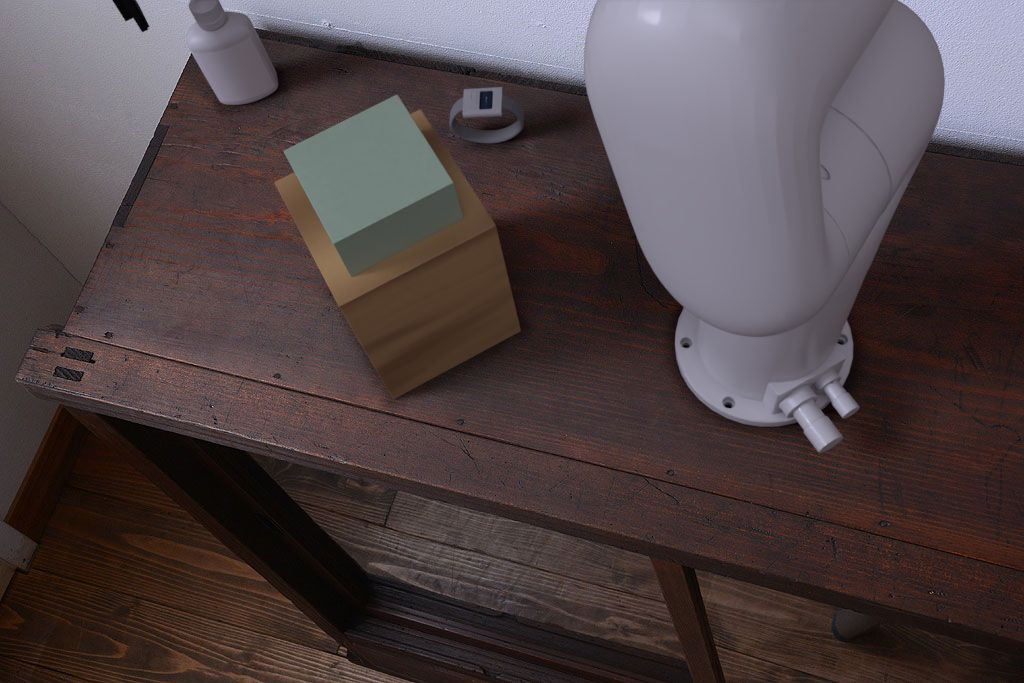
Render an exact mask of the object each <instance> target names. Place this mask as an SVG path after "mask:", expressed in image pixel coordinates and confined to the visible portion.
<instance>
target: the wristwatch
mask: <svg viewBox="0 0 1024 683" xmlns="http://www.w3.org/2000/svg"><path fill="white" fill-rule="evenodd" d="M504 110H506V111H507V112H509V113H511V115H513V116H514V117H515V118H516V119H517V120H516V121H515V122H514V123H512V124H511V125H508V126H506V127H503V128H500V129H491V130H490V129H489V130H486V129H477V128H472V127H469V126H465V125H463V124H462V123H460V122H459V120H457V119H456V118H457V117H458V116H459V115H460V113H462V119H481V118H497V117H503V111H504ZM448 122H449V123H448V126H449V129H450V131H451V132H452V134H453V135H454V136H455V137H458V138H459V139H462V140H464V141H469V142H472V143H476V144H499V143H503V142H507V141H509V140H511V139H513V138H515V137H517V136H518V135H519V134H520V133H521V132H522V131H523V128H524V126H525V111H524V109H523V107H522V106H521V105H520V104H519V103H518V102H517V101H516V100H515V99H513V98H512V97H510V96H508V95H505V94H504V88H503V86H494V87H493V86H492V87H478V88H476V87H475V88H463V95H462V97H460V98H459V99H457V100H456V101H455V102H454V103H453V105H452V107H451V109H450V112H449V121H448Z"/></svg>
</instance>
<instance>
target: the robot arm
mask: <svg viewBox="0 0 1024 683" xmlns="http://www.w3.org/2000/svg"><path fill="white" fill-rule="evenodd" d="M112 3H113V4H114V5H115V8H117V10H118V12H119V13H120V15H121V17H122V18H123V20H124V21H125V22H128V21H130V20H132V19H133V20H134V22H135V23H136V25H137V27H138V29H139V30H140V31H141V32H142V33H145V32H147V31H148V30H149V28H150V25H149V23H148V21H147V19H146V17H145V14H144V12H143V10H142V8H141V6H140V4H139V3H138V1H137V0H112ZM583 75H584V83H585V84H584V85H585V88H586V94H587V98H588V101H589V105H590V108H591V111H592V115H593V118H594V121H595V124H596V127H597V130H598V132H599V136H600V138H601V141H602V145H603V147H604V149H605V153H606V156H607V158H608V161H609V164H610V166H611V169H612V172H613V175H614V178H615V181H616V183H617V187H618V189H619V192H620V195H621V197H622V201H623V203H624V206H625V209H626V213H627V214H628V218H629V221H630V223H631V225H632V228H633V231H634V234H635V236H636V240H637V242H638V244H639V246H640V249H641V251H642V253H643V255H644V258H645V259H646V261H647V262H648V265H649V266H650V268H651V270H652V271H653V273H654V275H655V277H657V279H658V280H659V282H660V283H661V285H662V286H663V287H664V288H665V290H666V291H667V292H668V293H669V294H670V295H671V297H673V298H674V300H675V301H676V302H678V303H679V304H680V305H681V306H682V311H681V312H680V314H679V317H678V320H677V324H676V329H675V336H674V351H675V352H674V353H675V360H676V363H677V366H678V369H679V372H680V375H681V377H682V379H683V380H684V382H685V383H686V386H687V387H688V389H689V390H690V391H691V392H692V393H693V394H694V396H695V397H696V398H697V399H698V400H699V401H700V402H701V403H703V405H705V406H706V407H707V408H709V409H710V410H711V411H713V412H714V413H715V414H716V413H717V414H718V415H720V416H722V417H723V418H726V419H728V420H731V421H733V422H736V423H739V424H742V425H748V426H753V427H759V428H760V427H762V428H764V427H766V428H768V427H769V428H770V427H771V428H772V427H773V428H774V427H783V426H788V425H793V424H796V423H797V424H799V426H800V428H801V429H802V430H803V434H804V435H805V436H806V438H807V439H808V441H809V442H810V444H811V445H812V446H813V448H814V449H815V450H816V452H818V454H823V453H825V452H827V451H829V450H831V449H833V448H834V447H836V446H837V445H838V444H839V443H840V442H841V441H842V440H843V439H844V436H843V435H842V433H841V432H840V430H839V429H838V428H837V427H836V425H835V424H834V423H833V421H832V420H831V419H830V417H829V416H828V415H825V413H824V412H823V410H824V409H825V408H826V407H827V406H828V405H830V404H831V406H832V407H833V408H834V409H835V411H836V412H837V413H838V415H839V416H840V417H841V419H842V420H845V419H847V418H850V417H851V416H853V415H854V414H856V413H857V412H858V411H859V410H860V408H861V406H860V405H859V404H858V402H857V401H856V400H855V399H854V397H853V395H851V393H850V392H849V391H848V392H847V390H846V389H845V388H844V385H845V383H846V380H847V378H848V376H849V374H850V371H851V367H852V364H853V360H854V340H853V334H852V329H851V326H850V324H849V321H848V318H849V315H850V314H851V310H852V308H853V307H854V304H855V302H856V299H857V297H858V295H859V292H860V290H861V288H862V285H863V283H864V280H865V278H866V276H867V273H868V271H869V269H870V268H871V266H872V263H873V261H874V259H875V257H876V255H877V253H878V250H879V248H880V245H881V243H882V241H883V238H884V236H885V234H886V232H887V229H888V228H889V225H890V224H891V221H892V218H893V216H894V214H895V212H896V210H897V209H898V206H899V204H900V202H901V200H902V198H903V196H904V194H905V192H906V191H907V188H908V186H909V184H910V182H911V181H912V180H911V179H912V178H913V176H914V174H915V172H916V169H917V168H918V166H919V164H920V162H921V160H922V158H923V156H924V155H925V152H926V150H927V148H928V145H929V144H930V142H931V140H932V137H933V135H934V133H935V130H936V128H937V125H938V123H939V120H940V118H941V113H942V110H943V106H944V98H945V86H946V79H945V68H944V62H943V58H942V54H941V51H940V48H939V45H938V43H937V41H936V39H935V37H934V34H933V33H932V31H931V30H930V29H929V26H927V24H926V23H925V21H923V19H922V18H921V17H920V16H919V15H918V14H917V13H916V12H915V11H914V10H913V9H912V8H910V7H909V6H908V5H907V4H905V3H903V2H901V1H900V0H596V2H595V4H594V7H593V9H592V12H591V15H590V18H589V21H588V26H587V29H586V34H585V41H584V50H583ZM684 346H687V347H684ZM726 405H729V406H730V408H729V407H726Z"/></svg>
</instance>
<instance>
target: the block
mask: <svg viewBox="0 0 1024 683" xmlns="http://www.w3.org/2000/svg"><path fill="white" fill-rule="evenodd" d="M410 114H411V113H410V112H409V110H408V109H407V107H406V105H405V104H404V102H403V100H402V98H400V96H399V95H398V94H394V95H393V96H391V97H389V98H387V99H385V100H383V101H381V102H378V103H377V104H375V105H372V106H370V107H369V108H366V109H365V110H363V111H361V112H359V113H357V114H355V115H352V116H351V117H349V118H347V119H345V120H343V121H340V122H338V123H337V124H334V125H332V126H330V127H328V128H326V129H324V130H322V131H320V132H318V133H316V134H314V135H312V136H310V137H308V138H306V139H304V140H302V141H300V142H298V143H296V144H294V145H292V146H290V147H288V148H285V149H283V153H284V155H285V157H286V159H287V161H288V163H289V164H290V166H291V169H292V171H293V173H294V172H295V174H296V176H297V178H298V180H299V182H300V183H301V185H302V187H303V189H304V191H305V193H306V195H307V196H308V198H309V200H310V202H311V204H312V206H313V208H314V209H315V211H316V213H317V215H318V217H319V219H320V221H321V223H322V224H323V226H324V228H325V230H326V232H327V234H328V236H329V237H330V239H331V241H332V243H333V245H334V247H335V249H336V250H337V252H338V254H339V256H340V258H341V260H342V262H343V263H344V265H345V267H346V269H347V271H348V273H349V275H350V276H351V277H352V276H354V275H356V274H358V273H360V272H362V271H364V270H366V269H368V268H370V267H372V266H374V265H376V264H377V263H379V262H381V261H383V260H385V259H387V258H389V257H391V256H393V255H395V254H397V253H399V252H401V251H403V250H405V249H407V248H408V247H410V246H412V245H414V244H416V243H418V242H420V241H422V240H424V239H426V238H428V237H430V236H432V235H434V234H436V233H437V232H439V231H441V230H443V229H445V228H447V227H449V226H451V225H453V224H455V223H457V222H459V221H461V220H463V219H464V217H463V214H462V210H461V207H460V203H459V200H458V196H457V193H456V189H455V186H454V182H453V181H452V179H451V178H450V176H449V174H448V173H447V171H446V170H445V168H444V167H443V165H442V163H441V162H440V160H439V159H438V157H437V156H436V154H435V152H434V151H433V149H432V148H431V146H430V145H429V143H428V141H427V140H426V138H425V137H424V135H423V134H422V132H421V130H420V129H419V127H418V126H417V124H416V123H415V121H414V119H413V118H412V116H411V115H410Z"/></svg>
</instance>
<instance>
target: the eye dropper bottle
mask: <svg viewBox="0 0 1024 683" xmlns="http://www.w3.org/2000/svg"><path fill="white" fill-rule="evenodd" d="M188 9H189V11H190V13H191V15H192V16H193V19H194V20H195V22H194V23H193V24H192V25H191V26H190V27H188V29H187V32H186V42H187V46H188V50H189V51H190V53H191V54H192V57H193V58H194V60H195V62H196V64H197V65H198V67H199V69H200V70H201V72H202V74H203V76H204V77H205V79H206V81H207V83H208V85H209V86H210V88H211V90H212V92H214V94H215V96H216V98H217V99H218V101H219V102H220V103H221V104H223V105H225V106H226V105H227V106H239V105H247V104H251V103H255V102H258V101H261V100H263V99H264V98H266V97H269V96H270V95H272V94H273V93H274V92H276V91H277V90H278V88H279V78H278V74H277V73H278V72H277V71H276V68H275V66H274V64H273V63H272V60H271V58H270V56H269V54H268V52H267V50H266V48H265V46H264V44H263V42H262V40H261V37H260V36H259V34H258V32H257V30H256V28H255V26H254V24H253V22H252V20H251V19H250V18H249V16H248V15H246V14H244V13H242V12H236V11H227V10H226V11H225V9H224V8H223V6H222V3H221V2H220V0H189V3H188Z"/></svg>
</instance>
